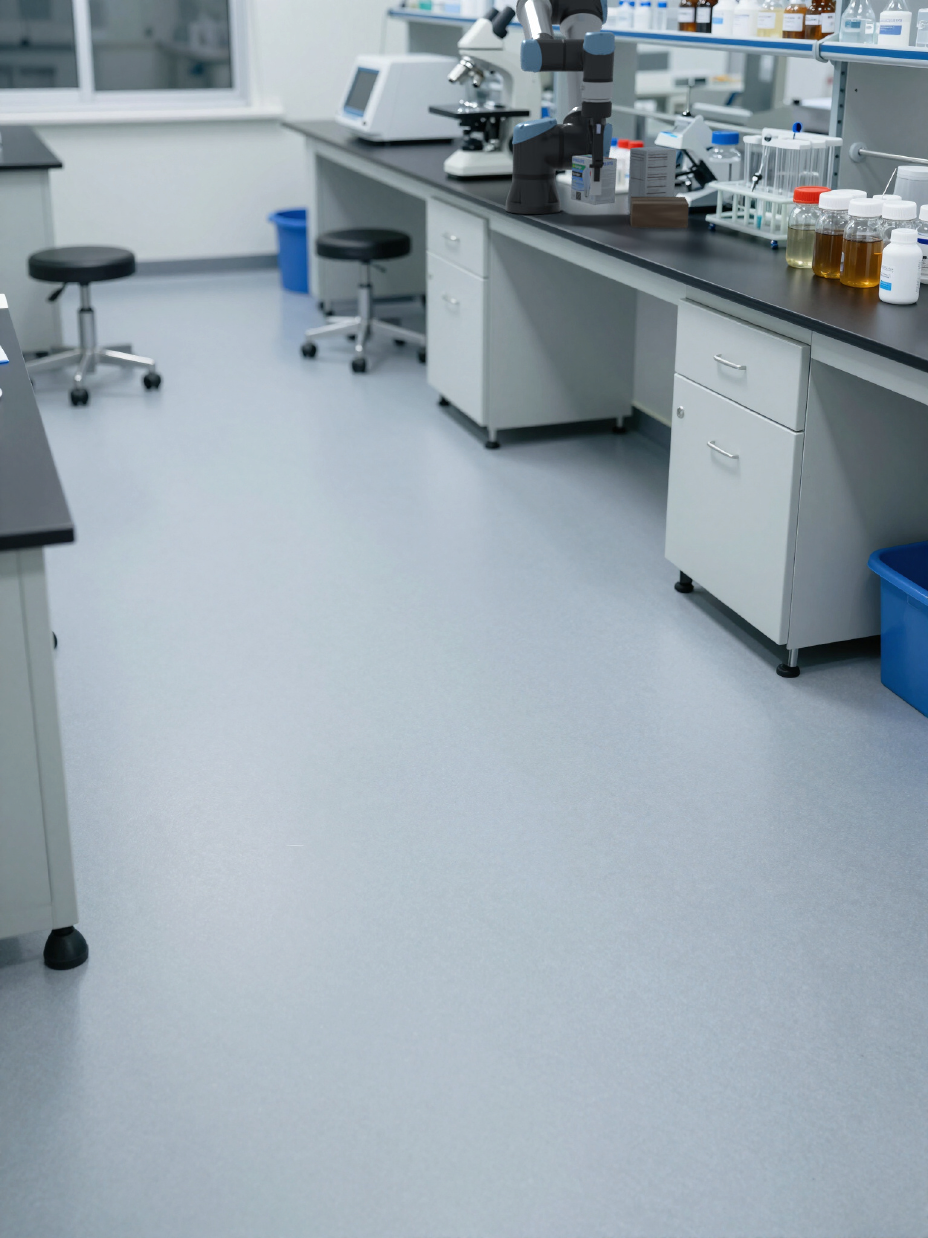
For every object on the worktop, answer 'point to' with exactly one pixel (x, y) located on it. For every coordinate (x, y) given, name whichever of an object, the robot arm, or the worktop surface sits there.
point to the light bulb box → (583, 180)
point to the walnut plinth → (659, 212)
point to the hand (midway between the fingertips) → (593, 190)
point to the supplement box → (651, 172)
